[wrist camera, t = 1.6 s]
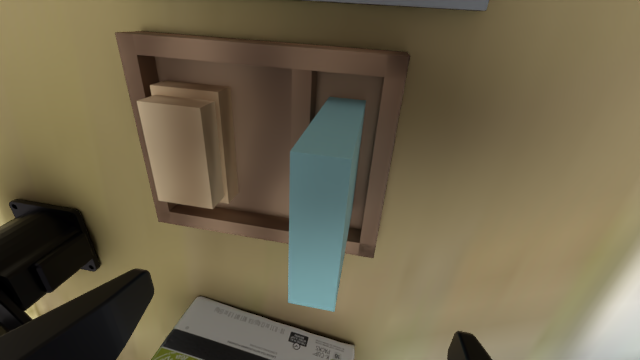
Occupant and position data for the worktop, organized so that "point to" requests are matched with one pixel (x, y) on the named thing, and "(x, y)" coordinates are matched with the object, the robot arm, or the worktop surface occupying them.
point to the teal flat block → (322, 201)
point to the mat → (423, 3)
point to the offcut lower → (223, 123)
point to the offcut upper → (183, 149)
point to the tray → (274, 121)
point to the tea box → (243, 337)
